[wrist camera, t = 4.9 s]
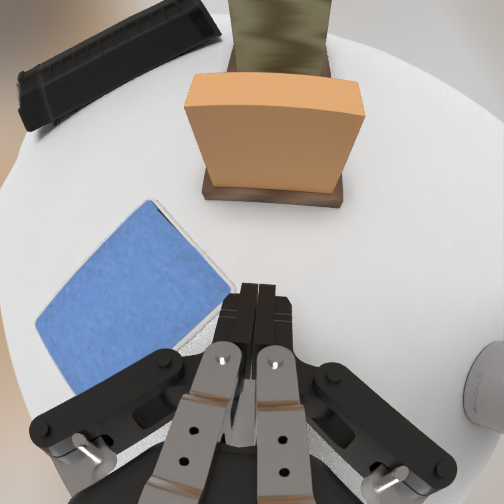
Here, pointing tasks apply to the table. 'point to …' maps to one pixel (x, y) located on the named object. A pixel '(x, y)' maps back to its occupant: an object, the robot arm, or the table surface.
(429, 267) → the table surface
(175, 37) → the magazine
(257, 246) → the table surface
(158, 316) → the blue flat slab
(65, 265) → the table surface
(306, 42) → the book row
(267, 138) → the loose bookend
